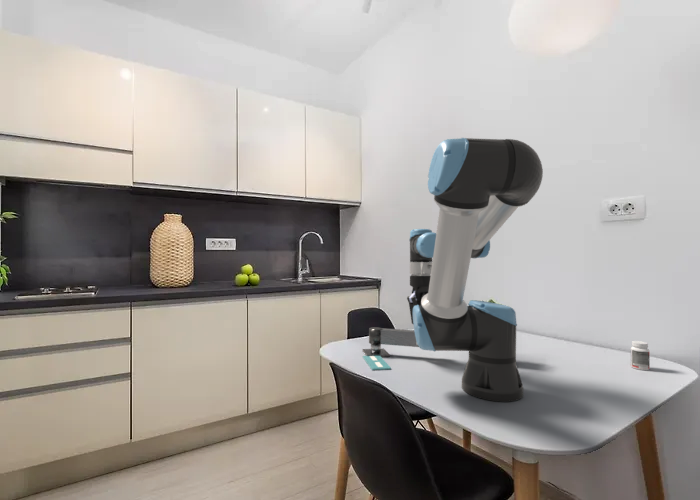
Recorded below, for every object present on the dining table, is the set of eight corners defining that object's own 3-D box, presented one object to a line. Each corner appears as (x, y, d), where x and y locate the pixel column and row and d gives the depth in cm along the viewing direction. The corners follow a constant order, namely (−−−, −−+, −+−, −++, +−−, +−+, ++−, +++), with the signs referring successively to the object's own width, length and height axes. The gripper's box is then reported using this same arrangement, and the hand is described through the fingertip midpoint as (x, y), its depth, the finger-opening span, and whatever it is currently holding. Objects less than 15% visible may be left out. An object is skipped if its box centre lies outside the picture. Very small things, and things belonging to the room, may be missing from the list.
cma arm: (437, 345, 126) (437, 331, 126) (437, 349, 121) (437, 334, 121) (370, 340, 132) (370, 326, 132) (367, 343, 127) (367, 329, 127)
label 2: (390, 369, 112) (391, 367, 112) (372, 370, 111) (372, 368, 111) (384, 362, 118) (384, 360, 118) (367, 363, 117) (367, 361, 117)
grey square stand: (389, 356, 125) (389, 345, 126) (367, 357, 124) (367, 346, 124) (383, 350, 133) (383, 340, 133) (362, 351, 132) (362, 340, 132)
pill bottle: (653, 371, 113) (653, 344, 113) (635, 370, 114) (636, 343, 114) (644, 366, 118) (644, 341, 118) (627, 365, 119) (627, 340, 119)
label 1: (384, 362, 118) (384, 360, 118) (367, 363, 117) (367, 361, 117) (379, 356, 125) (379, 354, 125) (362, 357, 124) (362, 355, 124)
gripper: (419, 275, 115) (419, 350, 114) (440, 274, 124) (441, 343, 123) (400, 275, 120) (400, 346, 119) (422, 273, 129) (422, 339, 129)
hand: (421, 344), depth 121 cm, fingers closed
